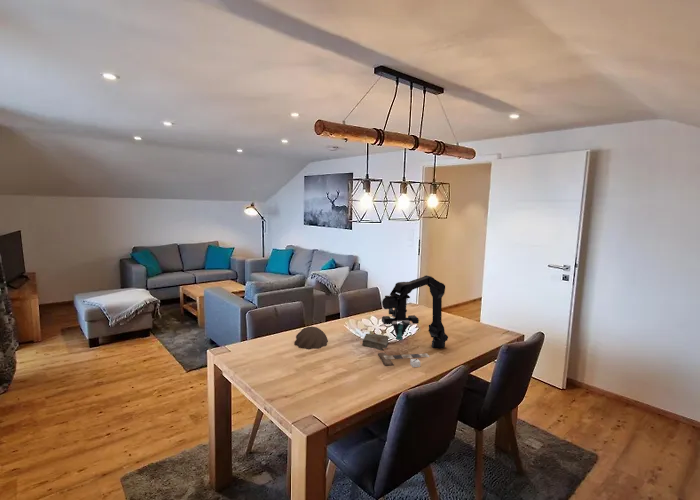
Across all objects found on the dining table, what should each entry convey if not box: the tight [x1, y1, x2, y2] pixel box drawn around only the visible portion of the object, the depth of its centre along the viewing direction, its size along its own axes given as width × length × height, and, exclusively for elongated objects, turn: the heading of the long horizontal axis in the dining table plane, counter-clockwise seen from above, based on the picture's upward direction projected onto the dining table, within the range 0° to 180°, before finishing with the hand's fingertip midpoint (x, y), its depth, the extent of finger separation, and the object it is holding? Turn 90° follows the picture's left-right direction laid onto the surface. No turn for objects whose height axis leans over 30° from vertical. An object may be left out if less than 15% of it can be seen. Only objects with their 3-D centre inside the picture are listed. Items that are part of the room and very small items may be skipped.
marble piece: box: [361, 333, 390, 351], centre depth 220 cm, size 17×15×4 cm
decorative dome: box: [294, 326, 329, 350], centre depth 220 cm, size 19×20×10 cm
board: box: [377, 351, 431, 367], centre depth 201 cm, size 28×14×1 cm, turn 101°
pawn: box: [395, 322, 404, 341], centre depth 198 cm, size 4×4×8 cm
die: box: [409, 358, 421, 368], centre depth 190 cm, size 4×4×4 cm
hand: (399, 335), depth 198 cm, fingers closed on pawn, 3 cm apart
